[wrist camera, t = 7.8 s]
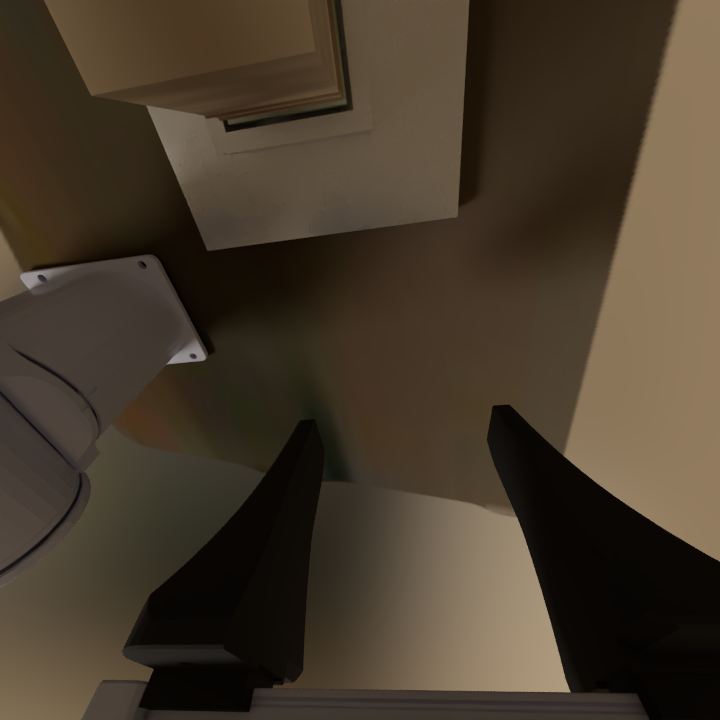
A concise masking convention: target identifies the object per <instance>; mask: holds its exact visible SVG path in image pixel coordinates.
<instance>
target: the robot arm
mask: <svg viewBox="0 0 720 720" xmlns="http://www.w3.org/2000/svg"><path fill="white" fill-rule="evenodd" d="M141 261H142V262H144V263H145V264H146V267H145V266H143V264H142V262H141ZM20 277H21V280H22V281H23V282H24V284H25V285H26V286H27V287H28V289H29V290H27V291H25V292H22V293H20V294H18V295H15V296H13V297H10V298H8V299H6V300H4V301H1V302H0V588H1V587H3V586H5V585H6V584H8V583H9V582H11V581H13V580H14V579H16V578H17V577H19V576H20V575H22V574H23V573H25V572H26V571H27V570H28V569H30V568H31V567H33V566H34V565H35V564H37V563H38V562H39V561H40V560H41V559H43V558H44V557H45V556H46V555H47V554H48V553H50V552H51V551H52V550H53V549H54V548H55V547H56V546H57V545H58V544H59V543H60V542H61V541H62V540H63V539H64V537H65V536H66V535H67V534H68V533H69V532H70V530H71V529H72V528H73V527H74V526H75V524H76V523H77V521H78V520H79V518H80V517H81V515H82V513H83V512H84V509H85V508H86V506H87V503H88V500H89V497H90V491H91V485H90V480H89V478H88V476H87V474H86V473H85V472H84V471H85V470H86V469H87V468H88V467H89V466H90V465H91V463H92V462H93V461H94V460H95V459H96V457H98V455H99V454H100V452H99V451H98V449H97V448H96V445H95V442H96V440H97V439H98V438H99V437H100V436H101V435H102V434H103V433H104V431H105V430H106V429H107V428H108V427H109V426H110V425H111V424H112V423H113V422H114V421H115V420H116V418H117V417H118V416H119V415H120V414H121V413H122V412H123V411H124V410H125V409H126V408H127V407H128V405H129V404H130V403H131V402H132V401H133V400H134V399H135V398H136V397H137V396H138V395H139V394H140V392H141V391H142V390H143V389H144V388H145V387H146V386H147V385H148V384H149V383H150V382H151V381H152V379H153V378H154V377H155V376H156V375H157V374H158V373H159V372H160V371H161V370H162V369H163V368H164V366H165V365H166V364H174V363H184V362H194V361H203V360H205V359H206V358H207V357H208V352H207V350H206V348H205V347H204V345H203V343H202V341H201V339H200V337H199V335H198V333H197V331H196V329H195V327H194V326H193V324H192V322H191V320H190V318H189V316H188V314H187V312H186V310H185V308H184V306H183V304H182V303H181V301H180V299H179V297H178V295H177V293H176V291H175V289H174V287H173V285H172V283H171V282H170V280H169V278H168V276H167V274H166V272H165V270H164V268H163V266H162V264H161V262H160V261H159V259H158V258H157V257H155V256H154V255H149V254H148V255H140V256H133V257H126V258H119V259H111V260H104V261H97V262H90V263H82V264H75V265H68V266H61V267H53V268H46V269H39V270H31V271H26V272H24V273H21V275H20ZM193 354H195V355H196V356H194V355H193ZM487 442H488V445H489V449H490V452H491V456H492V459H493V462H494V465H495V467H496V470H497V472H498V474H499V477H500V479H501V481H502V484H503V486H504V488H505V491H506V493H507V495H508V498H509V500H510V502H511V504H512V507H513V509H514V511H515V514H516V516H517V518H518V521H519V523H520V526H521V528H522V531H523V534H524V536H525V539H526V542H527V546H528V549H529V551H530V555H531V558H532V561H533V564H534V567H535V571H536V574H537V577H538V580H539V583H540V587H541V589H542V593H543V597H544V600H545V604H546V607H547V610H548V614H549V618H550V621H551V624H552V628H553V632H554V636H555V639H556V643H557V646H558V651H559V654H560V658H561V662H562V666H563V670H564V674H565V678H566V681H567V684H568V686H569V689H570V692H571V693H565V692H564V693H563V692H495V691H494V692H492V691H428V690H427V691H426V690H356V689H289V688H273V685H283V684H284V683H285V682H286V683H288V682H289V683H293V682H295V680H297V678H298V677H299V676H300V674H301V673H302V671H303V655H304V634H305V633H304V632H305V615H306V614H305V613H306V599H307V584H308V572H309V571H308V570H309V560H310V549H311V539H312V532H313V526H314V520H315V515H316V510H317V504H318V499H319V493H320V488H321V482H322V477H323V467H324V447H323V444H322V441H321V438H320V434H319V431H318V428H317V425H316V422H315V419H311V420H300V421H299V422H298V424H297V426H296V428H295V429H294V431H293V433H292V435H291V436H290V438H289V440H288V441H287V443H286V444H285V446H284V448H283V449H282V451H281V452H280V454H279V456H278V457H277V459H276V460H275V462H274V463H273V465H272V466H271V468H270V469H269V470H268V472H267V473H266V475H265V476H264V477H263V479H262V480H261V482H260V483H259V484H258V486H257V487H256V488H255V490H254V491H253V492H252V494H251V495H250V496H249V497H248V499H247V500H246V501H245V502H244V503H243V505H242V506H241V507H240V508H239V509H238V511H237V512H236V513H235V514H234V515H233V516H232V517H231V518H230V520H229V521H228V522H227V523H226V524H225V525H224V526H223V527H222V528H221V530H219V532H218V533H217V534H216V535H215V536H214V537H213V538H212V539H211V540H210V541H209V542H208V543H207V544H206V545H205V546H203V548H201V549H200V551H198V552H197V554H195V555H194V556H193V557H192V558H191V559H190V560H189V561H188V562H187V563H186V564H185V565H184V566H183V567H181V568H180V569H179V570H178V571H177V572H176V573H175V574H173V575H172V576H171V577H170V578H169V579H168V580H167V581H166V582H164V583H163V584H162V585H161V586H160V587H159V588H157V589H156V590H155V591H154V592H153V593H151V595H150V596H149V598H148V599H147V601H146V603H145V605H144V607H143V609H142V610H141V613H140V615H139V617H138V619H137V621H136V623H135V625H134V627H133V629H132V631H131V634H130V636H129V638H128V640H127V642H126V644H125V646H124V649H123V650H122V652H123V655H124V656H125V657H126V658H128V659H130V660H132V661H135V662H137V663H140V664H142V665H145V666H148V667H151V668H153V669H154V670H153V673H152V675H151V678H150V680H149V682H146V681H137V680H103V681H102V682H101V683H99V685H98V687H97V689H96V691H95V693H94V695H93V697H92V699H91V701H90V703H89V705H88V707H87V709H86V711H85V713H84V715H83V717H82V719H81V720H720V562H719V561H718V560H716V559H714V558H712V557H710V556H708V555H707V554H705V553H703V552H701V551H700V550H698V549H696V548H695V547H693V546H691V545H690V544H688V543H686V542H684V541H683V540H681V539H679V538H678V537H676V536H674V535H672V534H671V533H669V532H668V531H666V530H664V529H663V528H661V527H660V526H658V525H657V524H655V523H654V522H652V521H650V520H649V519H648V518H646V517H644V516H643V515H641V514H640V513H638V512H637V511H635V510H634V509H632V508H630V507H629V506H628V505H626V504H625V503H623V502H622V501H620V500H619V499H618V498H616V497H615V496H613V495H612V494H611V493H609V492H608V491H607V490H605V489H604V488H603V487H601V486H600V485H598V484H597V483H596V482H594V481H593V480H592V479H591V478H589V477H588V476H587V475H586V474H584V473H583V472H582V471H581V470H579V469H578V468H577V467H576V466H575V465H573V464H572V463H571V462H570V461H569V460H567V459H566V458H565V457H564V456H563V455H562V454H561V453H559V452H558V451H557V450H556V449H555V448H554V447H553V446H552V445H551V444H550V443H548V442H547V441H546V440H545V439H544V438H543V437H542V436H541V435H540V434H539V433H538V432H537V431H536V430H535V429H534V428H533V427H532V426H530V425H529V424H528V423H527V422H526V421H525V420H524V419H523V418H522V417H521V416H520V415H519V414H518V413H517V412H516V411H515V410H514V409H513V408H512V407H511V406H510V405H497V406H493V408H492V414H491V419H490V425H489V431H488V436H487Z"/></svg>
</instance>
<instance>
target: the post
mask: <svg viewBox="0 0 720 720" xmlns="http://www.w3.org/2000/svg"><path fill="white" fill-rule="evenodd" d="M44 1H45V3H46V5H47V7H48V9H49V11H50V13H51V15H52V17H53V19H54V21H55V23H56V25H57V27H58V29H59V31H60V33H61V35H62V37H63V40H64V42H65V44H66V46H67V48H68V50H69V52H70V54H71V56H72V58H73V60H74V62H75V64H76V66H77V68H78V70H79V72H80V74H81V76H82V78H83V80H84V82H85V84H86V86H87V88H88V90H89V92H90V94H91V96H97V97H102V98H108V99H114V100H119V101H125V102H130V103H136V104H142V105H147V106H153V107H158V108H164V109H170V110H175V111H181V112H186V113H192V114H198V115H203V116H205V118H206V119H210V118H218V119H219V121H224V120H227V121H228V124H229V125H240V124H245V123H251V122H256V121H262V120H268V119H273V118H279V117H285V116H290V115H296V114H301V113H307V112H313V111H318V110H324V109H330V108H335V107H341V106H347V105H348V104H347V96H346V87H345V79H344V70H343V62H342V54H341V45H340V37H339V29H338V20H337V12H336V4H335V0H44Z"/></svg>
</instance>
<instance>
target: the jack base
mask: <svg viewBox="0 0 720 720" xmlns="http://www.w3.org/2000/svg"><path fill="white" fill-rule="evenodd" d="M335 4H336V12H337V20H338V29H339V37H340V45H341V54H342V62H343V70H344V79H345V87H346V96H347V104H348V105H347V106H341V107H335V108H330V109H324V110H318V111H313V112H307V113H301V114H296V115H290V116H285V117H279V118H273V119H268V120H262V121H256V122H251V123H245V124H240V125H229V124H228V121H227V120H224V121H219V119H218V118H210V119H206V118H205V116H203V115H198V114H192V113H186V112H181V111H175V110H170V109H164V108H158V107H153V106H147V105H146V106H147V108H148V110H149V113H150V115H151V118H152V120H153V122H154V125H155V127H156V129H157V132H158V134H159V137H160V139H161V141H162V144H163V146H164V148H165V151H166V153H167V156H168V158H169V160H170V163H171V165H172V167H173V170H174V172H175V175H176V177H177V179H178V182H179V184H180V186H181V189H182V191H183V194H184V196H185V198H186V201H187V203H188V205H189V208H190V210H191V213H192V215H193V217H194V220H195V222H196V224H197V227H198V229H199V232H200V234H201V236H202V239H203V241H204V243H205V246H206V248H207V251H211V250H218V249H226V248H233V247H240V246H248V245H255V244H263V243H270V242H277V241H285V240H292V239H299V238H307V237H314V236H321V235H329V234H336V233H343V232H351V231H358V230H365V229H373V228H380V227H388V226H395V225H402V224H410V223H417V222H424V221H432V220H439V219H446V218H454V217H458V200H459V181H460V163H461V144H462V126H463V107H464V89H465V70H466V52H467V33H468V15H469V0H335Z"/></svg>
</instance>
